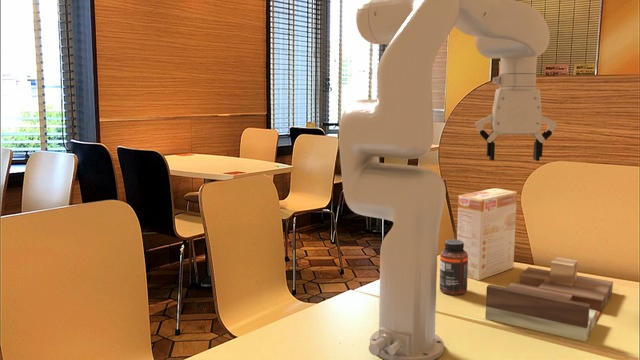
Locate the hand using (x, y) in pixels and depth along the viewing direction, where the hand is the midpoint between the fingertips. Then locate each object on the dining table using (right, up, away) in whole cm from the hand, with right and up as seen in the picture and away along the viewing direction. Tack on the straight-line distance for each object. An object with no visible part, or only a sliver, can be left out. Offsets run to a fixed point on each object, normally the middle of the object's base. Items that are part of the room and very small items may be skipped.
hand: (513, 159), depth 127 cm
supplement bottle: (-14, -29, -2) cm, 33 cm away
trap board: (+5, -30, -10) cm, 32 cm away
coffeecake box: (-3, -27, +12) cm, 30 cm away
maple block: (+10, -27, -3) cm, 29 cm away
